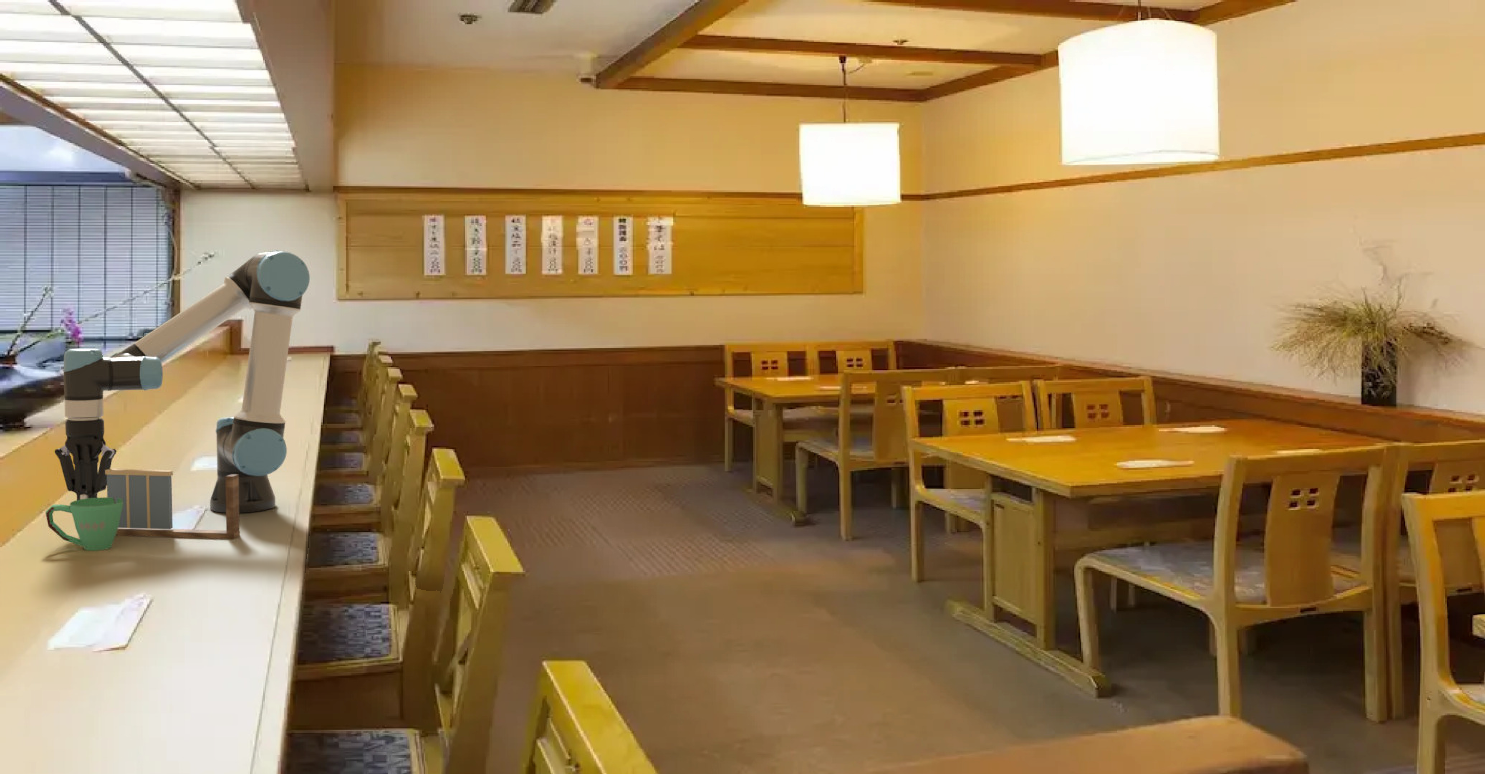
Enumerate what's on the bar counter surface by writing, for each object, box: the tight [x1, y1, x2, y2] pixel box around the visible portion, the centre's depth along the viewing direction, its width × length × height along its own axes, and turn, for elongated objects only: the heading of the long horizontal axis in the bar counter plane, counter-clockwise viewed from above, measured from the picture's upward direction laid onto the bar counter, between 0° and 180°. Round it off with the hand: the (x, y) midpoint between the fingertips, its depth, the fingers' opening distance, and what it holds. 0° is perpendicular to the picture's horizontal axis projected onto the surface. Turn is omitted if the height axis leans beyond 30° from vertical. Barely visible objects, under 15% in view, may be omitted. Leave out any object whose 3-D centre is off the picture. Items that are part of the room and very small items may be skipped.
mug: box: [45, 496, 123, 552], centre depth 245 cm, size 15×10×10 cm
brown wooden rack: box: [115, 474, 241, 540], centre depth 259 cm, size 31×3×14 cm, turn 88°
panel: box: [105, 468, 174, 529], centre depth 259 cm, size 14×2×13 cm, turn 88°
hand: (87, 522), depth 260 cm, fingers closed
